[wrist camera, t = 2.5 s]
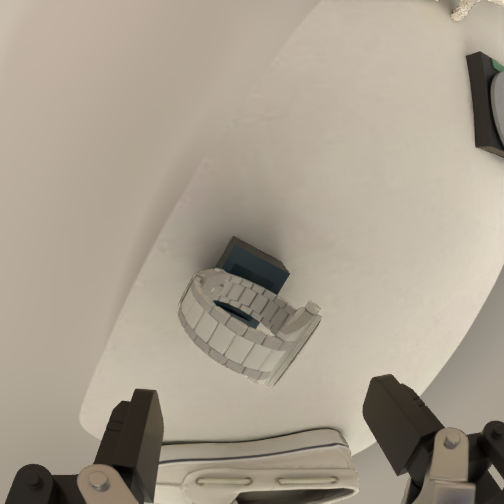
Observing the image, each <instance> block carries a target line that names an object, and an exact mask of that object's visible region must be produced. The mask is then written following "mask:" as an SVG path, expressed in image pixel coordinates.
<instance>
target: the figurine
mask: <svg viewBox="0 0 504 504" xmlns="http://www.w3.org/2000/svg"><path fill="white" fill-rule="evenodd" d="M434 1H436V2H438V1H439V0H434ZM479 1H480V0H462V1H461V2H460V3H459V6H458V7H457V8H456V10H453V11H452V12H453V14H451V18H452V19H453V20H454V21H458V20H459V21H461V20H462V19H463V18H464V17H466V15H467V14H468V12H469V10H470V9H471V8H472V6H473V5H475V3H476V2H479ZM487 1H490V2H493V3H496V4H498V5H501V6H504V0H487Z"/></svg>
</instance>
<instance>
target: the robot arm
mask: <svg viewBox="0 0 504 504" xmlns="http://www.w3.org/2000/svg"><path fill="white" fill-rule="evenodd" d="M419 398H420V397H419V396H418V395H417V394H416V393H415V392H414V390H413V389H411V388H409V387H408V386H406V385H404V384H403V383H402V384H400V383H399V382H398V381H397V380H396V378H395V377H394V376H393V375H392V374H387V375H382V376H377V377H373V378H372V379H371V381H370V384H369V388H368V391H367V394H366V398H365V401H364V404H363V417H364V419H365V421H366V423H367V425H368V426H369V428H370V430H371V431H372V433H373V435H374V437H375V438H376V440H377V442H378V443H379V445H380V447H381V448H382V450H383V452H384V454H385V455H386V457H387V459H388V461H389V462H390V464H391V466H392V468H393V469H394V471H395V473H396V475H397V476H399V475H402V474H405V473H407V472H408V473H409V474H410V477H409V479H408V481H407V485H406V488H405V492H404V496H403V499H402V503H401V504H504V488H503V490H501V489H500V487H499V486H498V484H497V483H496V482H495V480H494V479H493V478H492V476H491V474H490V473H489V471H488V469H489V468H490V467H491V465H492V464H493V465H494V467H495V468H496V469H497V471H498V472H499V473H500V475H501V476H502V478H503V479H504V423H503V422H501V421H491V422H489V423H487V424H486V426H485V427H484V429H483V430H482V432H481V433H475V434H469V435H466V434H465V433H464V432H463V431H461V430H459V429H457V428H452V427H448V428H445V427H444V426H443V425H442V424H441V423H440V421H439V420H438V419H437V418H436V416H435V415H434V414H433V413H432V412H431V410H430V409H429V408H428V407H427V406H425V403H424V402H423V401H422V400H421V399H419ZM163 433H164V423H163V417H162V412H161V408H160V403H159V398H158V394H157V391H156V390H148V389H135V391H134V393H133V396H132V399H131V402H129V401H121V402H120V403H119V404H118V405H117V406H116V407H115V408H114V409H113V411H112V414H111V416H110V419H109V422H108V424H107V427H106V431H105V433H104V435H103V438H102V441H101V444H100V447H99V449H98V452H97V455H96V458H95V461H94V463H93V465H90V466H87V467H85V468H84V469H83V470H82V471H81V472H80V473H79V474H77V475H51V473H50V472H49V471H48V470H47V469H46V468H45V467H43V466H41V465H38V464H29V465H26V466H24V467H22V468H21V469H19V471H18V472H17V474H16V476H15V479H14V481H13V483H12V487H11V489H10V491H9V494H8V496H7V499H6V502H5V504H144V502H146V503H154V495H155V488H156V480H157V473H158V466H159V459H160V452H161V446H162V440H163Z"/></svg>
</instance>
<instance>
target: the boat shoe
mask: <svg viewBox="0 0 504 504" xmlns="http://www.w3.org/2000/svg"><path fill="white" fill-rule="evenodd" d="M359 490H360V488H359V480H358V475H357V472H356V468H355V465H354V462H353V460H352V458H351V451H350V449H349V446H348V444H347V442H346V441H345V439H344V437H343V436H342V435H341V434H340V433H339V432H337V431H335V430H330V429H321V430H312V431H306V432H301V433H297V434H292V435H287V436H282V437H277V438H271V439H265V440H259V441H252V442H242V443H199V444H178V445H165V446H161V452H160V459H159V466H158V473H157V480H156V488H155V495H154V503H146V502H144V504H329V503H333V502H336V501H339V500H343V499H346V498H348V497H351V496H353V495H356V494H357V493H358V492H359Z"/></svg>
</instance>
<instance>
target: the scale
mask: <svg viewBox="0 0 504 504" xmlns="http://www.w3.org/2000/svg"><path fill="white" fill-rule="evenodd" d="M466 58H467V63H468V69H469V75H470V82H471V89H472V98H473V108H474V120H475V139H476V147H478V148H480V149H483V150H486V151H489V152H491V153H494V154H496V155H499V156H501V157H504V66H502V65H501V64H499V63H498V62H496V61H495V60H493V59H492V58H490V57H488V56H487V55H485V54H484V53H482V52H481V51H479V52H476V53H473V54H471V55H468V56H466Z"/></svg>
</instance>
